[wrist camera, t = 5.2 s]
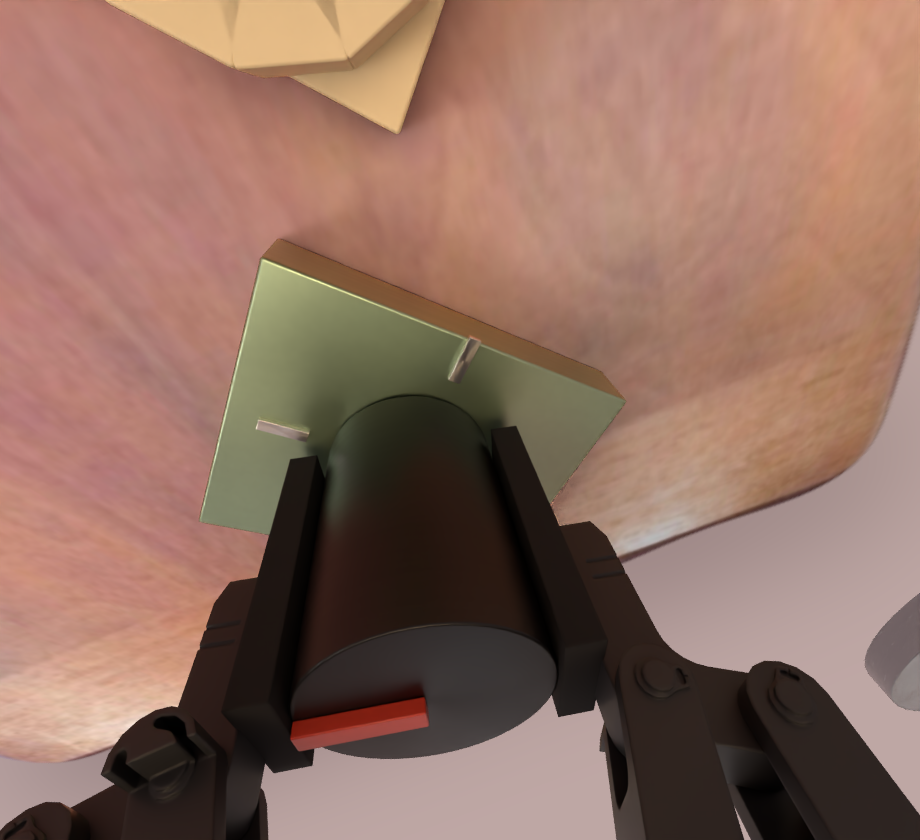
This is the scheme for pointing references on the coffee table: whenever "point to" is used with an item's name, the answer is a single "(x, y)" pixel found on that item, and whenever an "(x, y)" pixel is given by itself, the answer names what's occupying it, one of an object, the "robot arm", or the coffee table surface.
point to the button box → (311, 44)
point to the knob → (416, 594)
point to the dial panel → (380, 380)
